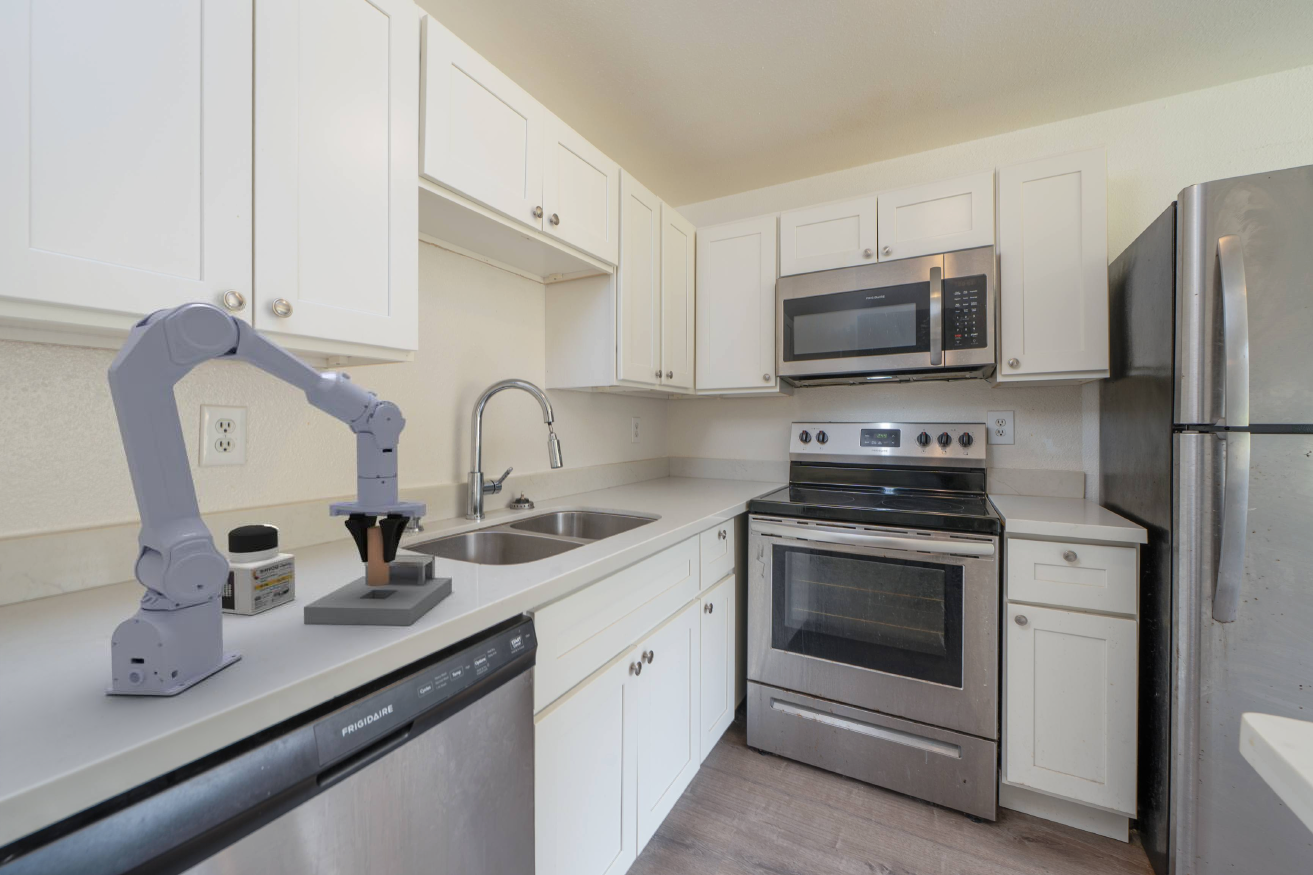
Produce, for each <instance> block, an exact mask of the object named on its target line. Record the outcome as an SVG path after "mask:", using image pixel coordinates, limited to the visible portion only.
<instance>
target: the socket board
mask: <svg viewBox="0 0 1313 875" xmlns="http://www.w3.org/2000/svg"><path fill="white" fill-rule="evenodd" d="M452 592H453V579H452V577H435V578H434V579H425V584H424V585H423V586H421V585H418V579H389V583H388V584H385V585H381V586H369V585H366V579H365V575H364V576H361V577H358V578H356V579H354V580H353V581H351V582H349V583H346V585H343V586H341V587H339V588H338V589H336V590H333V591H331V592H330V593H328V594H326V595H325V596H324V595H323V596H322V597H320V598H318V599H316V600H315V601H313V602H311V603H309V604H307V605H305V606H304V607H303V624H307V625H311V624H312V625H314V624H315V625H320V624H321V625H360V626H361V625H363V626H367V625H368V626H369V625H370V626H373V625H374V626H411V625H412V624H413V623H415V622H416V621H417V620H418V619H420V618H422V616H424V615H425V614H426V613H427V612H429V611H430V610H431V609H432V608H433V607H435V606H436V605H437V604H438V603H440V602H441V601H442V600H443V599H445V598H446V597H447V596H448V595H450V594H451V593H452Z"/></svg>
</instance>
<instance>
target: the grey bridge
mask: <svg viewBox="0 0 1313 875" xmlns="http://www.w3.org/2000/svg"><path fill="white" fill-rule="evenodd" d="M363 563H364V564H363V565H364V566H365V568H364V569H365V572H364V573H365V574H364V576H365V579H366V585H368V562H363ZM434 578H436V555H435V554H396V557H395V560H393V561H391V562H389V579H418V585H421V586H423V585H424V584H425V579H434Z"/></svg>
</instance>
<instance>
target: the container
mask: <svg viewBox="0 0 1313 875" xmlns="http://www.w3.org/2000/svg"><path fill="white" fill-rule="evenodd" d="M227 535H228V536H227V538H228V539H227V540H228V542H227V544H228V557H229V559H227V561H228V563H229V568H230V571H229V577H228V579H227V581H226V583H225V585H224V586H223V587H222V613H226V614H227V613H229V614H235V615H236V614H238V615H246V616H255V615H257V614H259V613H260V614H261V613H262V612H264V611H265V612H266V611H268V610H270V609H273V608H275V607H278V606H280V605H282V604H286V603H288V602H291V601H294V600H295V598H296V578H295V576H296V574H295V573H296V572H295V569H296V568H295V555H294V554H292V553H282V552H281V553H280V552H279V551H280V528H279V527H277V525H273V524H268V523H264V524H261V523H258V524H249V525H243V526H238V527H236V528H234V529H232V530H230V531H229V532H228V534H227Z"/></svg>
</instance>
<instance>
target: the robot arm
mask: <svg viewBox="0 0 1313 875" xmlns="http://www.w3.org/2000/svg"><path fill="white" fill-rule="evenodd" d="M211 360H223V361H224V360H226V361H238V362H239V361H240V362H245V363H248V364H250V365H251V366H254V367H256V368H257V369H260V370H261V371H264V372H266V373H268V374H270V375H272V376H273V377H276V378H277V379H280V380H281V381H283V382H286V383H288V384H289V385H291V386H294V387H296V388H297V389H300V390H302V391H303V392H304V393H305V397H306V401H307V402H308V404H309V405H311V406H313V407H315V408H316V409H318V410H320V411H322V412H324V413H325V414H327V415H329V416H331V417H333V418H335V419H337V420H339V421H341V422H343V423H345V424H346V425H348V428H349V429H350V430H351V432H352V433H353V434H355V435H356V487H357V488H356V489H357V490H356V492H357V494H356V496H357V501H348V502H347V501H344V502H343V501H342V502H341V501H339V502H333V503H330V504H328V506H329V516H330V517H339V516H342V517H343V516H348V519H346V520H344V526H345V528H346V529H347V530H348V531H349V533H350V535H351V537H352V538H353V540H354V542H355V545H356V547H357V549H358V553H359V556H360V559H361V563H364V562H368V542H367V528H368V527H372V526H377V525H376V524H377V519H378V517H384V518H381V519H379V520H378V524H379V525H378V526H380V528H381V532H382V537H383V557H384V563H389V562H391V561H393V560H395V557H396V555H397V552H398V549H399V544H400V541H401V538H402V536H403V534H404V532H405V529H406V527H407V525H408V524H409V522H410V519H411V517H413V518H422V517H425V516H426V515H427V512H426V511H427V505H426V504H427V503H425V502H424V503H420V502H419V503H418V502H408V501H399V482H398V481H399V480H398V478H399V476H398V474H399V473H398V472H399V471H398V470H399V468H398V466H399V465H398V464H399V463H398V459H399V458H398V456H399V455H398V454H399V453H398V445H399V444H400V436H401V433H402V432H403V431H404V428H405V426H406V424H407V423H406V418H404V417H403V414H402V411H401V410H400V408H399V407H398V405H397V404H395V403H394V402H391V401H388V400H379V399H378V397H377V393H375V392H374V391H372V390H368V391H367V390H365V388H362V387H360V386H359V385H357V384H356V383H354V382H353V381H351V380H350V379H351V376H350V375H349V374H347V373H345V372H343V371H342V372H338V373H337V372H336V371H333V370H330V371H324V372H320V371H318V370H317V369H315V368H313V367H312V366H310V364H307V363H306V362H305V361H303V360H302V359H300V358H298V357H297V356H296V355H294V354H292V353H291V352H290V351H288V349H287V350H286V349H285V348H283V346H280V345H279V344H277V343H276V342H275V341H273V340H271V339H270V338H269V337H267V336H265V335H264V334H262V333H261V332H259V331H258V330H257V329H255V327H253V326H252V325H250V324H249V323H248V322H247V321H245V320H243V319H242V318H240V317H238V316H235V315H230V314H229V313H227V311H226V310H224V309H223V308H221V307H219V306H217V305H215V304H213V303H210V302H206V301H199V300H197V301H195V300H194V301H189V302H185V303H182V304H180V305H178V306H175V307H171V308H163V309H159V310H158V309H157V310H156V311H154V312H151V313H150V314H148V315H147V316H145V317H144V318H142V319H141V320H139V321H136V323H134V324H132V326H131V327H130V332H129V334H128V336H127V338H126V340H125V342H124V343H123V344H122V346H121V348H120V349H119V351H118V353H117V354H116V356H115V357H114V359H113V361H112V362H111V364H110V365H109V367H108V369H107V380H108V385H109V389H110V394H111V397H112V403H113V406H114V411H115V415H116V419H117V423H118V428H119V432H120V435H121V436H120V437H121V440H122V445H123V448H124V449H123V450H124V453H125V458H126V462H127V466H128V470H129V475H130V478H131V483H132V487H133V492H134V496H135V500H136V504H137V510H138V513H139V516H140V522H141V528H140V531H139V534H138V535H137V536H138V537H137V542H138V546H139V550H138V551H139V552H138V555H137V558H136V560H135V563H134V566H133V574H134V578H135V579H136V581H137V582H138V583H139V584H140V585H141V586H142V587H145V588H146V590H145V592H144V594H143V596H142V598H141V600H140V604H139V605H140V607H139V609H138V610H137V612H136V613H134V614H133V615H132V616H131V617H129V618H128V619H125V620H124V621H122V622H121V623H119V624H118V626H117V627H116V628H115V629H114V631H113V633H112V636H111V640H110V641H111V643H110V647H111V648H110V649H111V650H110V651H111V676H112V680H111V681H112V685H111V686H110V687H108V688H106V689H105V694H106V695H140V696H141V695H144V696H145V695H146V696H150V695H151V696H174V695H177V694H178V693H181V692H182V691H184V690H187V689H188V688H189V687H191V686H193V685H194V684H197V683H198V682H200V681H202V680H203V679H206V678H207V677H209V676H211V675H212V674H214V673H216V672H218V671H220V670H222V669H223V668H224V667H228V666H229V665H230V664H232V663H234V662H235V661H237V660H239V659H241V658H242V657H243V653H242V652H224V639H223V638H224V637H223V635H224V633H223V612H222V587H223V586H224V585H225V583H226V581H227V579H228V577H229V571H230V568H229V563H228V561H227V560H228V559H227V558H226V556H225V555H224V554H222V553H221V551H219V550H218V548H217V547H216V545H215V542H214V537H213V534H212V533H211V531H210V529H209V528H208V526H207V525H206V523H205V522H204V520H203V519H202V517H201V513H200V507H199V504H198V499H197V494H196V489H195V485H194V484H195V483H194V481H193V480H194V479H193V476H192V471H191V466H190V460H189V457H188V453H187V447H186V443H185V438H184V434H183V428H182V423H181V420H180V416H179V410H178V405H177V401H176V398H175V397H176V396H175V390H174V386H175V385H176V384H177V383H179V381H180V380H182V379H183V378H184V377H185V376H186V375H188V373H190V372H191V371H192V370H193V369H195V367H197V366H198V365H201V364H203V363H205V362H209V361H211Z"/></svg>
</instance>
